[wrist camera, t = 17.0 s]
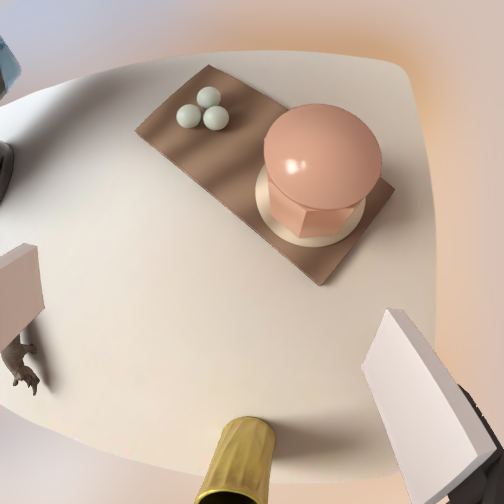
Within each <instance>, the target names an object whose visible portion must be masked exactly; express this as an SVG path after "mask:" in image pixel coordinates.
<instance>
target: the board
mask: <svg viewBox="0 0 504 504" xmlns="http://www.w3.org/2000/svg"><path fill="white" fill-rule="evenodd" d="M205 87H214V88H216V89H217V90H218V91H219V92H220V94H221V101H220V104H219V105H218V106H220V107H223V108H224V109H225V110H226V111H227V112H228V115H229V121H228V123H227V125H226V126H225V127H224V128H223V129H221V130H211V129H209V128H208V127H207V126H206V125H205V124H204V120H203V117H204V113H205V112H206V110H207V109H203V108H202V107H200V106H199V104H198V102H197V95H198V93H199V91H200V90H201V89H203V88H205ZM188 104H191V105H195V106H196V107H198V108H199V110H200V112H201V120H200V122H199V123H198V124H197V125H196V126H195V127H193V128H184V127H182V126H181V125H180V124H179V123H178V121H177V112H178V110H179V109H180V108H181V107H182V106H184V105H188ZM287 111H289V110H287V109H286V108H284V107H283V106H281V105H279V104H278V103H276V102H275V101H273V100H271V99H270V98H268V97H266V96H265V95H263V94H261V93H260V92H258V91H256V90H254V89H253V88H251V87H249V86H248V85H246V84H244V83H242V82H240V81H239V80H237V79H235V78H233V77H231V76H229V75H228V74H226V73H224V72H222V71H220V70H218V69H216V68H214V67H212V66H210V65H207V66H206V67H205V68H204V69H202V70H201V71H200V72H199V73H197V74H196V75H195V76H194V77H192V78H191V79H190V80H189V81H188V82H187V83H185V84H184V85H183V86H182V87H181V88H180V89H178V90H177V91H176V92H175V93H174V94H173V95H172V96H170V97H169V98H168V99H167V100H166V101H165V102H164V103H163V104H162V105H161V106H159V107H158V108H157V109H156V110H155V111H154V112H153V113H152V114H151V115H150V116H149V117H148V118H147V119H146V120H145V121H144V122H143V123H142V124H141V125H140V126H139V127H138V128H137V129H136V130H135V132H136V133H137V134H138V135H139V136H140V137H141V138H143V139H144V140H145V141H146V142H148V143H149V144H150V145H151V146H153V147H154V148H155V149H156V150H158V151H159V152H160V153H161V154H162V155H164V156H165V157H166V158H167V159H169V160H170V161H171V162H172V163H173V164H175V165H176V166H177V167H178V168H180V169H181V170H182V171H183V172H184V173H186V174H187V175H188V176H189V177H191V178H192V179H193V180H194V181H195V182H197V183H198V184H199V185H200V186H201V187H203V188H204V189H205V190H206V191H207V192H209V193H210V194H211V195H212V196H213V197H215V198H216V199H217V200H218V201H219V202H221V203H222V204H223V205H224V206H225V207H227V208H228V209H229V210H230V211H231V212H233V213H234V214H235V215H236V216H237V217H239V218H240V219H241V220H242V221H243V222H245V223H246V224H247V225H248V226H249V227H251V228H252V229H253V230H254V231H255V232H256V233H258V234H259V235H260V236H261V237H262V238H264V239H265V240H266V241H267V242H268V243H269V244H271V245H272V246H273V247H274V248H275V249H277V250H278V251H279V252H280V253H281V254H282V255H284V256H285V257H286V258H287V259H288V260H289V261H291V262H292V263H293V264H294V265H295V266H296V267H298V268H299V269H300V270H301V271H302V272H303V273H305V274H306V275H307V276H308V277H309V278H310V279H312V280H313V281H314V282H315V283H316V284H317V285H318V286H320V285H321V284H322V283H323V282H324V281H325V280H326V278H327V277H328V276H329V275H330V273H331V272H332V271H333V270H334V269H335V267H336V266H337V265H338V264H339V262H340V261H341V260H342V259H343V257H344V256H345V255H346V254H347V252H348V251H349V250H350V249H351V247H352V246H353V245H354V244H355V242H356V241H357V240H358V238H359V237H360V236H361V235H362V233H363V232H364V231H365V229H366V228H367V227H368V225H369V224H370V223H371V222H372V220H373V219H374V218H375V216H376V215H377V214H378V212H379V211H380V210H381V208H382V207H383V205H384V204H385V203H386V201H387V200H388V199H389V197H390V196H391V195H392V193H393V192H394V190H395V189H394V188H393V187H392V186H390V185H389V184H388V183H387V182H386V181H384V180H383V179H382V178H381V177H379V179H378V180H377V182H376V184H375V185H374V187H373V188H372V190H371V191H370V192H369V193H368V195H367V196H366V198H365V208H364V212H363V215H362V217H361V219H360V221H359V223H358V224H357V226H356V227H355V228H354V230H353V231H352V232H351V233H350V234H349V235H347V236H346V237H345V238H344V239H342V240H340V241H339V242H336V243H334V244H332V245H328V246H325V247H317V248H309V247H302V246H298V245H294V244H292V243H289V242H287V241H285V240H283V239H282V238H280V237H279V236H277V235H276V234H275V233H274V232H273V231H272V230H271V229H270V228H269V227H268V226H267V225H266V223H265V222H264V220H263V219H262V217H261V215H260V212H259V210H258V207H257V203H256V196H255V188H256V182H257V178H258V175H259V173H260V171H261V169H262V167H263V166H264V164H265V159H264V138H265V137H266V135H267V133H268V131H269V129H270V127H271V126H272V124H273V123H274V122H275V121H276V120H277V119H278V118H279V117H280V116H281V115H283V114H284V113H286V112H287Z"/></svg>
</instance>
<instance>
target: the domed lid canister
mask: <svg viewBox="0 0 504 504" xmlns="http://www.w3.org/2000/svg"><path fill="white" fill-rule="evenodd" d="M264 159H265V165H266V169H267V179H268V189H269V200H270V211H271V216H272V217H274V218H275V219H276V220H277V221H278V222H280V223H281V224H282V225H283V226H284V227H286V228H287V229H288V230H289V231H290V232H292V233H293V234H294V235H295V236H296V237H298V238H309V237H323V236H334V235H335V234H336V233H337V232H338V230H339V229H340V228H341V227H342V226H343V224H344V223H345V222H346V221H347V219H348V218H349V217H350V216H351V214H352V213H353V212H354V211H355V209H356V208H357V207H358V205H359V204H360V203H361V201H362V200H363V199H364V198H365V197H366V196H367V195H368V193H369V192H370V191H371V190H372V188H373V187H374V185H375V184H376V182H377V180H378V179H379V177H380V176H381V173H380V171H381V164H382V162H381V152H380V148H379V145H378V142H377V140H376V138H375V136H374V135H373V133H372V132H371V130H370V129H369V128H368V127H367V126H366V125H365V124H364V123H363V122H362V121H361V120H360V119H359V118H357V117H356V116H355V115H353V114H351V113H350V112H348V111H346V110H344V109H341V108H338V107H335V106H331V105H325V104H308V105H303V106H299V107H296V108H293V109H291V110H289V111H287V112H286V113H284V114H283V115H281V116H280V117H279V118H278V119H277V120H276V121H275V122H274V123H273V124H272V126H271V127H270V129H269V131H268V133H267V135H266V137H265V138H264Z"/></svg>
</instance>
